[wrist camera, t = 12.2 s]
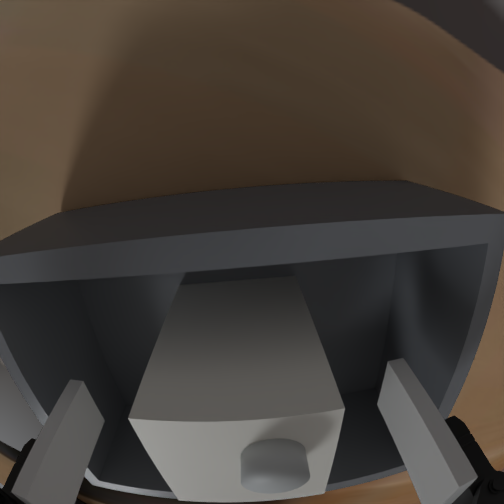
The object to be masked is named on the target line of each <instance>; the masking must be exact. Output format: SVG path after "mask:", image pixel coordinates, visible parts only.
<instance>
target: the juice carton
mask: <svg viewBox="0 0 504 504" xmlns="http://www.w3.org/2000/svg"><path fill="white" fill-rule="evenodd" d="M344 411H345V407H344V404H343V401H342V398H341V396H340V393H339V390H338V387H337V385H336V382H335V379H334V376H333V374H332V371H331V368H330V365H329V363H328V360H327V357H326V355H325V352H324V349H323V346H322V344H321V341H320V338H319V336H318V333H317V331H316V328H315V325H314V323H313V320H312V317H311V315H310V312H309V310H308V307H307V304H306V302H305V299H304V297H303V294H302V292H301V289H300V287H299V284H298V281H297V279H296V276H286V277H275V278H263V279H251V280H238V281H225V282H212V283H198V284H183V285H179V287H178V290H177V292H176V294H175V297H174V299H173V302H172V304H171V307H170V309H169V311H168V314H167V316H166V319H165V321H164V324H163V326H162V329H161V331H160V334H159V336H158V339H157V341H156V344H155V346H154V349H153V352H152V354H151V357H150V359H149V362H148V365H147V367H146V370H145V373H144V375H143V378H142V381H141V383H140V386H139V389H138V392H137V394H136V397H135V400H134V403H133V406H132V408H131V411H130V414H129V417H128V419H129V421H130V423H131V425H132V427H133V428H134V430H135V432H136V434H137V436H138V437H139V439H140V441H141V443H142V444H143V446H144V448H145V450H146V451H147V453H148V455H149V456H150V458H151V459H152V461H153V463H154V464H155V466H156V467H157V469H158V471H159V472H160V474H161V475H162V477H163V478H164V480H165V481H166V483H167V484H168V486H169V487H170V488H171V490H172V491H173V493H174V494H175V496H176V497H177V498H178V500H181V501H196V502H253V501H269V500H280V499H290V498H298V497H305V496H312V495H318V494H324V493H325V489H326V486H327V482H328V479H329V475H330V471H331V468H332V464H333V460H334V456H335V452H336V448H337V443H338V439H339V434H340V430H341V425H342V421H343V416H344Z"/></svg>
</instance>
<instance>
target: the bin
mask: <svg viewBox="0 0 504 504" xmlns="http://www.w3.org/2000/svg"><path fill="white" fill-rule="evenodd" d="M503 250H504V212H503V211H500V210H498V209H495V208H492V207H490V206H487V205H484V204H481V203H478V202H475V201H472V200H469V199H466V198H463V197H460V196H457V195H454V194H451V193H448V192H444V191H441V190H438V189H434V188H431V187H428V186H424V185H421V184H417V183H413V182H410V181H347V182H321V183H302V184H285V185H270V186H257V187H245V188H234V189H223V190H213V191H203V192H194V193H185V194H177V195H169V196H161V197H154V198H146V199H139V200H132V201H125V202H119V203H112V204H106V205H100V206H94V207H88V208H82V209H77V210H71V211H66V212H60V213H57V214H54V215H52V216H50V217H48V218H46V219H43V220H41V221H39V222H37V223H35V224H33V225H31V226H29V227H27V228H24V229H22V230H20V231H18V232H16V233H14V234H12V235H11V236H9V237H7V238H5V239H3V240H1V241H0V357H1V359H2V360H3V362H4V364H5V366H6V368H7V370H8V372H9V373H10V375H11V377H12V379H13V380H14V382H15V384H16V386H17V387H18V389H19V391H20V392H21V394H22V395H23V397H24V398H25V400H26V402H27V403H28V405H29V406H30V408H31V409H32V411H33V412H34V414H35V415H36V417H37V418H38V420H39V421H40V422H41V424H42V425H43V426H44V424H45V422H46V421H47V419H48V417H49V415H50V413H51V412H52V410H53V408H54V406H55V405H56V403H57V401H58V399H59V398H60V396H61V394H62V393H63V391H64V389H65V387H66V386H67V384H68V382H69V381H70V380H79V381H84V383H85V385H86V387H87V389H88V391H89V393H90V395H91V397H92V399H93V401H94V402H95V404H96V406H97V408H98V410H99V411H100V413H101V415H102V417H103V418H104V420H105V422H104V424H103V427H102V429H101V432H100V434H99V437H98V440H97V442H96V445H95V447H94V450H93V453H92V455H91V458H90V461H89V464H88V466H87V469H86V472H85V475H84V476H85V478H86V479H87V480H88V481H89V482H90V483H91V484H92V485H95V486H99V487H104V488H108V489H113V490H118V491H123V492H129V493H135V494H142V495H149V496H156V497H165V498H176V499H178V498H177V497H176V496H175V494H174V493H173V491H172V490H171V488H170V487H169V486H168V484H167V483H166V481H165V480H164V478H163V477H162V475H161V474H160V472H159V471H158V469H157V467H156V466H155V464H154V463H153V461H152V459H151V458H150V456H149V455H148V453H147V451H146V450H145V448H144V446H143V444H142V443H141V441H140V439H139V437H138V436H137V434H136V432H135V430H134V428H133V427H132V425H131V423H130V421H129V419H128V417H129V414H130V411H131V408H132V406H133V403H134V400H135V397H136V394H137V392H138V389H139V386H140V383H141V381H142V378H143V375H144V373H145V370H146V367H147V365H148V362H149V359H150V357H151V354H152V352H153V349H154V346H155V344H156V341H157V339H158V336H159V334H160V331H161V329H162V326H163V324H164V321H165V319H166V316H167V314H168V311H169V309H170V307H171V304H172V302H173V299H174V297H175V294H176V292H177V290H178V287H179V285H183V284H198V283H212V282H225V281H238V280H251V279H263V278H275V277H286V276H296V279H297V281H298V284H299V287H300V289H301V292H302V294H303V297H304V299H305V302H306V304H307V307H308V310H309V312H310V315H311V317H312V320H313V323H314V325H315V328H316V331H317V333H318V336H319V338H320V341H321V344H322V346H323V349H324V352H325V355H326V357H327V360H328V363H329V365H330V368H331V371H332V374H333V376H334V379H335V382H336V385H337V387H338V390H339V393H340V396H341V398H342V401H343V404H344V407H345V411H344V416H343V421H342V425H341V430H340V434H339V439H338V443H337V448H336V452H335V456H334V460H333V464H332V468H331V471H330V475H329V479H328V482H327V486H326V489H325V491H330V490H335V489H340V488H345V487H349V486H354V485H358V484H362V483H366V482H370V481H373V480H377V479H380V478H384V477H387V476H390V475H394V474H397V473H400V472H403V471H406V470H407V469H406V467H405V464H404V462H403V460H402V457H401V455H400V453H399V451H398V449H397V446H396V444H395V442H394V440H393V438H392V435H391V433H390V431H389V429H388V427H387V425H386V422H385V420H384V418H383V416H382V414H381V412H380V410H379V408H378V405H377V403H378V399H379V396H380V392H381V388H382V384H383V380H384V376H385V371H386V367H387V363H388V361H392V360H396V359H400V358H404V360H405V361H406V362H407V364H408V365H409V367H410V368H411V370H412V371H413V373H414V374H415V376H416V377H417V379H418V380H419V382H420V383H421V385H422V386H423V388H424V389H425V391H426V392H427V394H428V395H429V397H430V398H431V400H432V401H433V403H434V405H435V406H436V408H437V409H438V411H439V412H440V414H441V416H442V417H443V419H444V420H445V419H447V418H448V416H449V414H450V412H451V410H452V408H453V406H454V404H455V402H456V399H457V397H458V395H459V393H460V391H461V389H462V386H463V384H464V382H465V379H466V377H467V375H468V372H469V370H470V367H471V365H472V362H473V360H474V357H475V354H476V352H477V349H478V346H479V343H480V340H481V338H482V335H483V331H484V328H485V325H486V322H487V319H488V315H489V312H490V308H491V305H492V301H493V297H494V293H495V289H496V285H497V281H498V276H499V271H500V266H501V261H502V256H503Z"/></svg>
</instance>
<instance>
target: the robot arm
mask: <svg viewBox="0 0 504 504" xmlns="http://www.w3.org/2000/svg"><path fill="white" fill-rule="evenodd" d="M377 405H378V408H379V410H380V412H381V414H382V416H383V418H384V420H385V422H386V425H387V427H388V429H389V431H390V433H391V435H392V438H393V440H394V442H395V444H396V446H397V449H398V451H399V453H400V455H401V457H402V460H403V462H404V464H405V467H406V469H407V471H408V473H409V476H410V478H411V480H412V483H413V485H414V487H415V490H416V492H417V494H418V497H419V499H420V502H421V504H504V472H501V471H496V470H495V469H494V468H493V467H492V466H491V464H490V463H489V461H488V459H487V458H486V456H485V455H484V453H483V451H482V450H481V448H480V447H479V445H478V443H477V442H476V441H475V439H474V437H473V436H472V434H470V431H469V429H468V428H467V426H466V425H465V423H464V422H463V421H461V420H460V419H458V418H457V417H456V416H452V417H450V418H447V419H445V420H444V419H443V417H442V416H441V414H440V412H439V411H438V409H437V408H436V406H435V405H434V403H433V401H432V400H431V398H430V397H429V395H428V394H427V392H426V391H425V389H424V388H423V386H422V385H421V383H420V382H419V380H418V379H417V377H416V376H415V374H414V373H413V371H412V370H411V368H410V367H409V365H408V364H407V362H406V361H405V360H404V358H400V359H396V360H392V361H388V363H387V367H386V371H385V376H384V380H383V384H382V388H381V392H380V396H379V399H378V403H377ZM104 422H105V420H104V418H103V417H102V415H101V413H100V411H99V410H98V408H97V406H96V404H95V402H94V401H93V399H92V397H91V395H90V393H89V391H88V389H87V387H86V385H85V383H84V381H79V380H70V381H69V382H68V384H67V386H66V387H65V389H64V391H63V393H62V394H61V396H60V398H59V399H58V401H57V403H56V405H55V406H54V408H53V410H52V412H51V413H50V415H49V417H48V419H47V421H46V422H45V424H44V426H43V428H42V430H41V432H40V434H39V435H38V438H37V439H36V440H35V439H31V440H29V441H28V442H27V443H26V444H25V445H24V447H23V449H22V451H21V452H20V456H18V458H17V460H16V463H15V464H14V466H13V468H12V470H11V472H10V474H9V476H8V479H7V481H6V483H5V485H4V487H3V488H2V489H1V488H0V504H85V503H83V502H81V501H79V500H78V499H76V498H77V495H78V492H79V489H80V486H81V483H82V480H83V478H84V475H85V472H86V469H87V466H88V464H89V461H90V458H91V455H92V453H93V450H94V447H95V445H96V442H97V440H98V437H99V434H100V432H101V429H102V427H103V424H104Z"/></svg>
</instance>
